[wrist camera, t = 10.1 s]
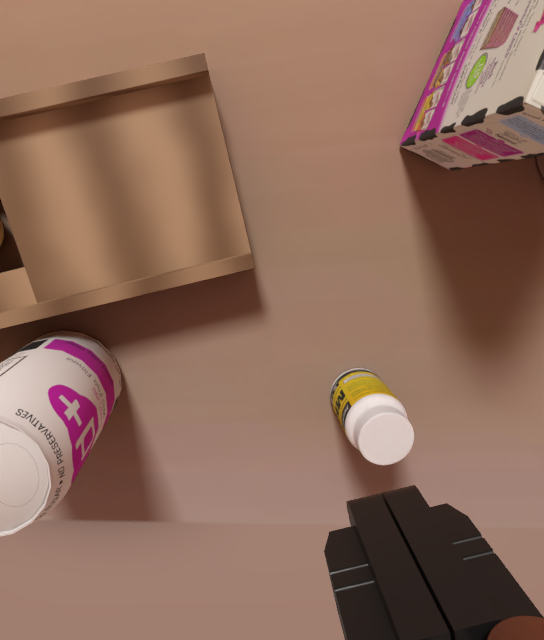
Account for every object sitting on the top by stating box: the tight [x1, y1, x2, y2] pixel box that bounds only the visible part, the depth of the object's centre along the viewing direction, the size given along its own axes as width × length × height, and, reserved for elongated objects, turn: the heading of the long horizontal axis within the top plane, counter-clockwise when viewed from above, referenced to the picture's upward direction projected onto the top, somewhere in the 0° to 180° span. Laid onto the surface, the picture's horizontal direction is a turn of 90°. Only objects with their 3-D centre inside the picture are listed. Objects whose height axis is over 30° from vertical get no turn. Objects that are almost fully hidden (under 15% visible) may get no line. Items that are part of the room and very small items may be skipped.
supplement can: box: [0, 330, 122, 536], centre depth 32 cm, size 8×8×15 cm
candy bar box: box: [400, 0, 544, 170], centre depth 29 cm, size 11×5×16 cm, turn 158°
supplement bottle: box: [330, 368, 414, 465], centre depth 38 cm, size 5×5×8 cm
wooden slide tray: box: [0, 53, 255, 329], centre depth 35 cm, size 26×14×4 cm, turn 103°
